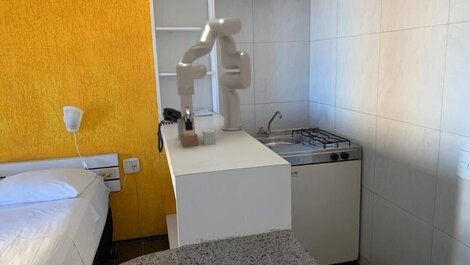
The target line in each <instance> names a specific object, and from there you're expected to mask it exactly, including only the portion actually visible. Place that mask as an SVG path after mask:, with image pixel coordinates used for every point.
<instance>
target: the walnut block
mask: <svg viewBox="0 0 470 265" xmlns="http://www.w3.org/2000/svg"><path fill="white" fill-rule="evenodd" d="M180 142H181V144H180V145H181V146H182V147H183V148H193V147H199V136H198V134H197V133H196V132H195V136H184V134H181V140H180Z"/></svg>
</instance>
